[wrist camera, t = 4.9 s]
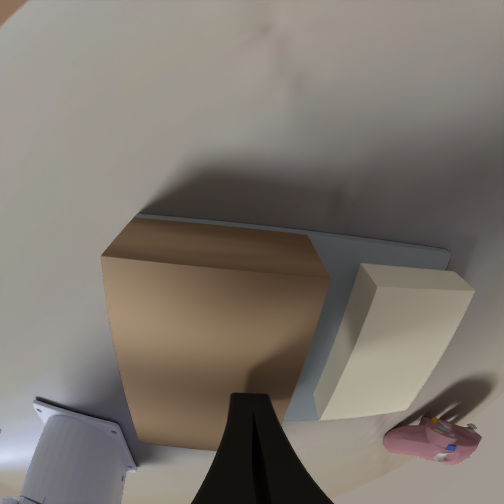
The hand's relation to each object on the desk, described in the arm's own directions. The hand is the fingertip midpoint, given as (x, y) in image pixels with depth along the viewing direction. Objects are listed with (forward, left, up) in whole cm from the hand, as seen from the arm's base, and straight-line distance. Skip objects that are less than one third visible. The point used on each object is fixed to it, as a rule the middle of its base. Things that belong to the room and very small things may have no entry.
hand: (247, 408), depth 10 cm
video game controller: (-12, -19, -5) cm, 23 cm away
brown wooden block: (0, +2, -5) cm, 5 cm away
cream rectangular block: (0, -8, -2) cm, 8 cm away
